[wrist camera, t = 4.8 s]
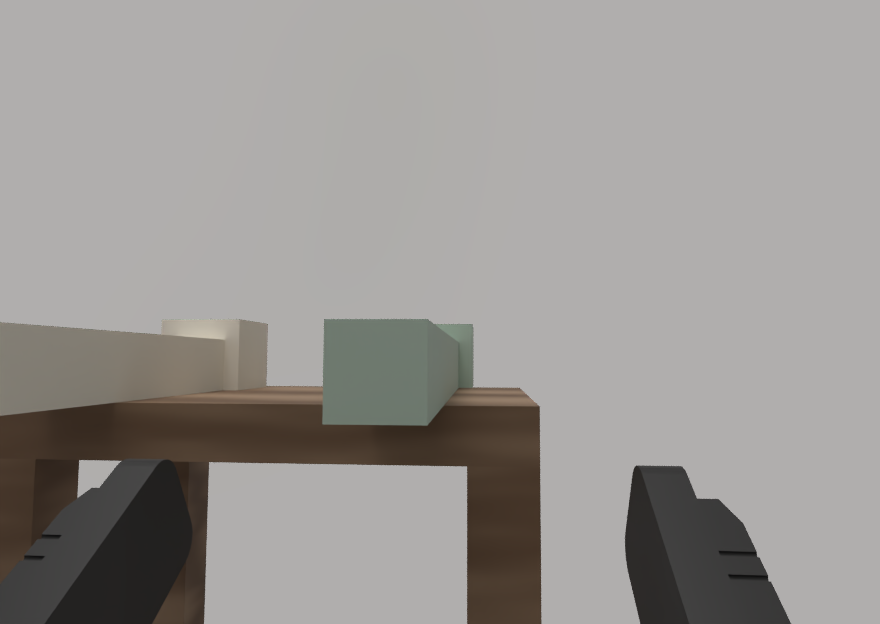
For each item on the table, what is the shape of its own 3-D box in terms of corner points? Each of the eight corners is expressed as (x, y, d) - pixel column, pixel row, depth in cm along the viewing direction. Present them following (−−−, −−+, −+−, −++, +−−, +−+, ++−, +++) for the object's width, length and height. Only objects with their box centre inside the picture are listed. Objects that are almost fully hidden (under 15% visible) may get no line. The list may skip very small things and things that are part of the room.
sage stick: (458, 425, 15) (459, 277, 15) (291, 424, 15) (293, 278, 15) (473, 385, 39) (473, 328, 39) (408, 384, 39) (408, 327, 39)
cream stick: (-210, 444, 11) (-195, 249, 11) (-412, 441, 11) (-393, 251, 12) (266, 386, 35) (267, 323, 35) (196, 386, 35) (198, 324, 36)
